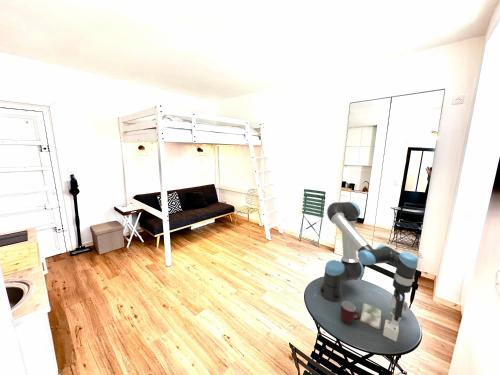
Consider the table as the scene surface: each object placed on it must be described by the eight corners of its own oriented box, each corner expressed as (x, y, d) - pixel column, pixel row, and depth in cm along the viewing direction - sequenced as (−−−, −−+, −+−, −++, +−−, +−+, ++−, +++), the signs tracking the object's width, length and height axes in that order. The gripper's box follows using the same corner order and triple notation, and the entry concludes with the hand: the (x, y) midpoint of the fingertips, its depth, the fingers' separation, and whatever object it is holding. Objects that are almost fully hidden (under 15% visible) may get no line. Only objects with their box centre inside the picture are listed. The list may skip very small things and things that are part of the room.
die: (383, 335, 112) (385, 326, 110) (383, 327, 116) (385, 318, 115) (396, 341, 108) (398, 332, 107) (396, 333, 113) (398, 324, 111)
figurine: (385, 309, 129) (390, 289, 126) (397, 310, 129) (403, 290, 126) (394, 320, 122) (399, 299, 118) (407, 320, 122) (412, 300, 118)
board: (360, 320, 120) (360, 319, 120) (363, 304, 133) (363, 302, 133) (379, 330, 115) (380, 328, 114) (380, 311, 128) (381, 310, 127)
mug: (356, 318, 122) (359, 304, 120) (359, 329, 114) (362, 314, 112) (337, 312, 125) (340, 299, 123) (339, 323, 117) (342, 309, 115)
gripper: (414, 299, 92) (404, 336, 97) (409, 272, 113) (401, 304, 117) (394, 292, 96) (385, 328, 101) (393, 267, 117) (386, 298, 121)
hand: (394, 315), depth 109 cm, fingers open, 13 cm apart
